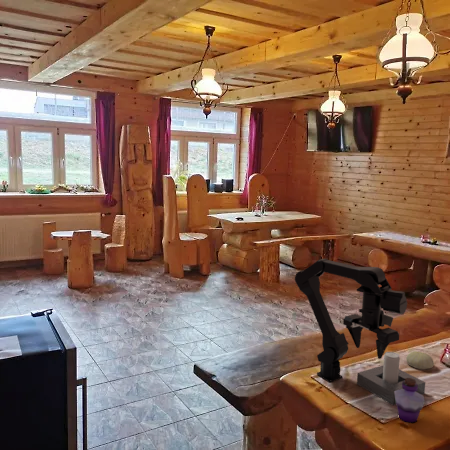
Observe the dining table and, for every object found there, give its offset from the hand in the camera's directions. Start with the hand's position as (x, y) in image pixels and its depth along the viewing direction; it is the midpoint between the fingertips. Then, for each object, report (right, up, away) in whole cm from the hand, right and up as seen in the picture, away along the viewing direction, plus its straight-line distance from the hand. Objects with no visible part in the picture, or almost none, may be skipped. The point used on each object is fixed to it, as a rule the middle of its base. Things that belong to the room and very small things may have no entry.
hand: (368, 352), depth 145 cm
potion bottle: (+7, -15, -14) cm, 22 cm away
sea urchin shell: (+26, -11, +21) cm, 35 cm away
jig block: (+8, -13, +3) cm, 16 cm away
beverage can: (+8, -13, +3) cm, 16 cm away
